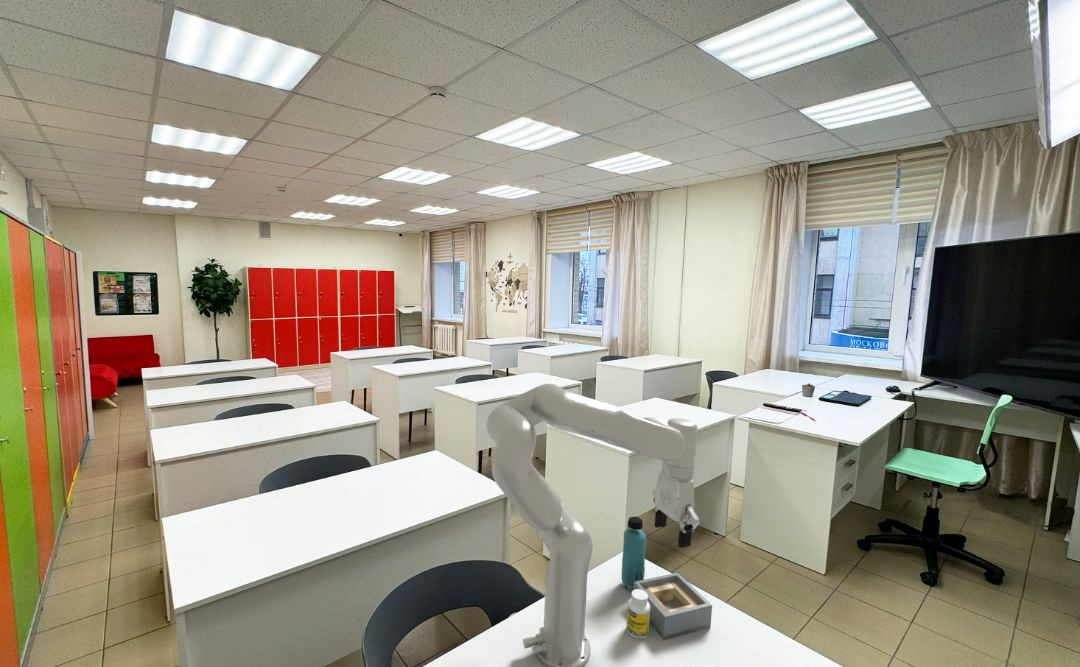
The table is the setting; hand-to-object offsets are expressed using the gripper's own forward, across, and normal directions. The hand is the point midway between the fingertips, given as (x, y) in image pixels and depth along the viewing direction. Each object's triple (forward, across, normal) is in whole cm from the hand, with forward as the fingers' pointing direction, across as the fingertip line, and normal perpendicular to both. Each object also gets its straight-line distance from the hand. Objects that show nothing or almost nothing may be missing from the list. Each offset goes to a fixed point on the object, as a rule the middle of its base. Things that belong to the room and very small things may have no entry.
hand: (671, 536), depth 115 cm
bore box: (+23, -2, +4) cm, 24 cm away
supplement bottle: (+24, 0, -8) cm, 25 cm away
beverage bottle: (+24, -16, 0) cm, 28 cm away
